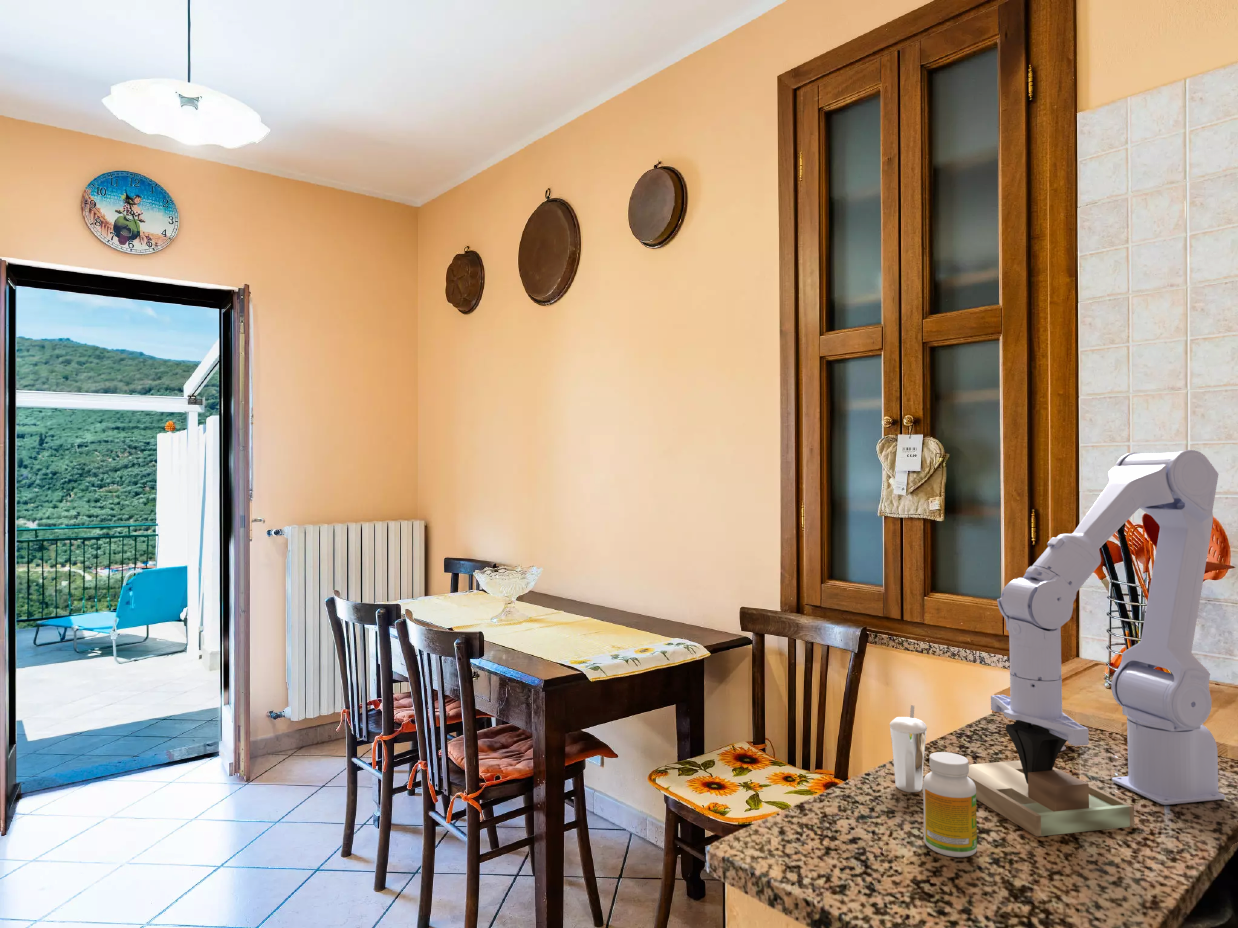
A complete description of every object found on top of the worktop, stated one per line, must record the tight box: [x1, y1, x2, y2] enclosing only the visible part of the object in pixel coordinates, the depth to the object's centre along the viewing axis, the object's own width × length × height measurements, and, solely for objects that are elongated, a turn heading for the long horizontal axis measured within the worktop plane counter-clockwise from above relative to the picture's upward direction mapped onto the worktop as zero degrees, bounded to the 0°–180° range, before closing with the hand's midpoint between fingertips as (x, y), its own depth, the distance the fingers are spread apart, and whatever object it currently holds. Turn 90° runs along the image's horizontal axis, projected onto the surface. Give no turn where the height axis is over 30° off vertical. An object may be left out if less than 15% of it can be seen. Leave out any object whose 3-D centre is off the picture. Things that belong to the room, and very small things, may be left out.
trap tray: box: [967, 759, 1135, 837], centre depth 96 cm, size 13×18×2 cm
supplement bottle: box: [922, 751, 978, 858], centre depth 84 cm, size 5×5×10 cm
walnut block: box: [1028, 769, 1090, 812], centre depth 92 cm, size 4×4×3 cm
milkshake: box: [889, 704, 928, 793], centre depth 101 cm, size 5×5×10 cm
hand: (1037, 784), depth 95 cm, fingers closed
